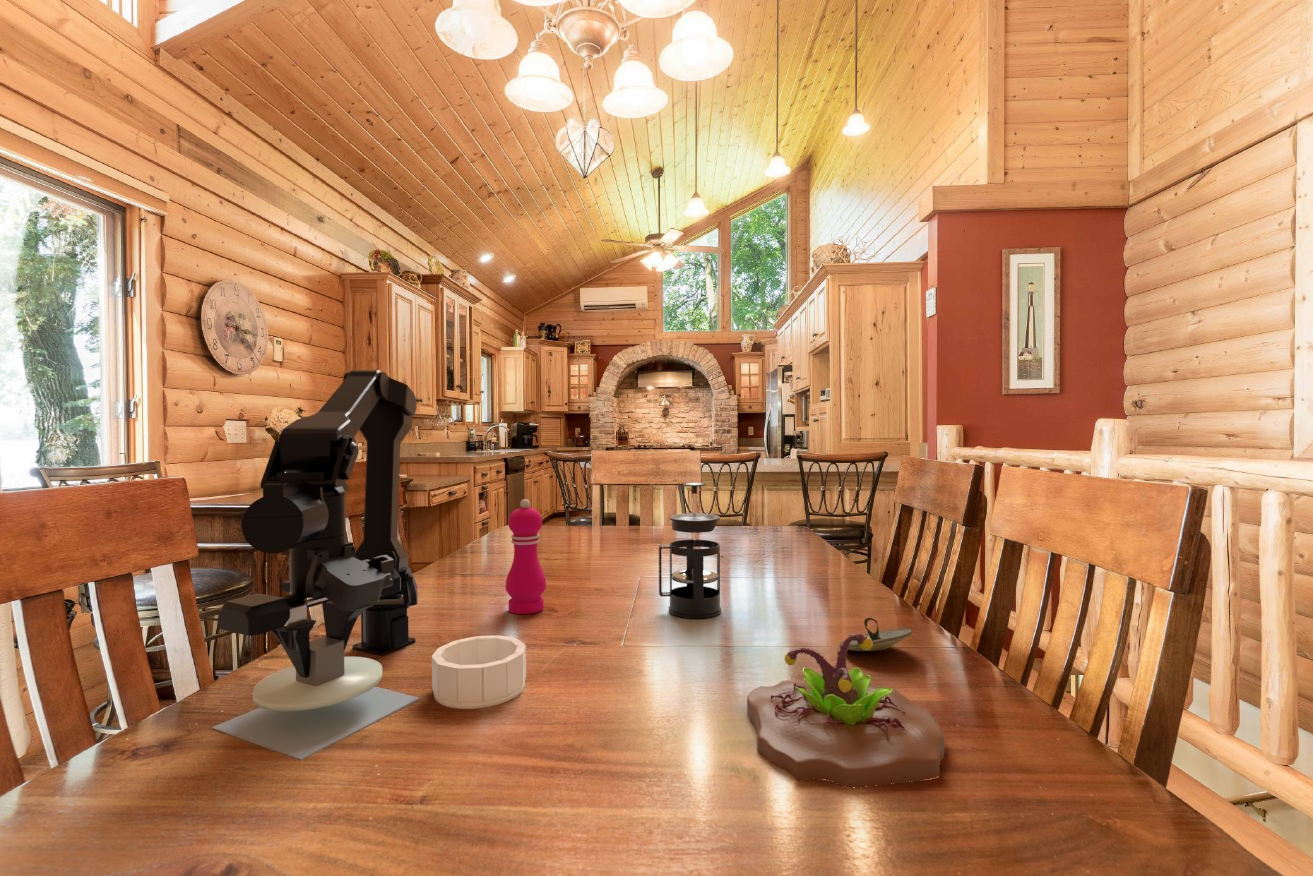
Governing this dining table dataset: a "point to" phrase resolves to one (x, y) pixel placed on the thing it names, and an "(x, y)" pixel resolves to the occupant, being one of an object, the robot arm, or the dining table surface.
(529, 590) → the pepper mill
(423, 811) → the dining table surface
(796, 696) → the plant
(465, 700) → the bowl
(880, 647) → the lid
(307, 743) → the mat
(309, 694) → the cover
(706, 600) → the french press
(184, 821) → the dining table surface
